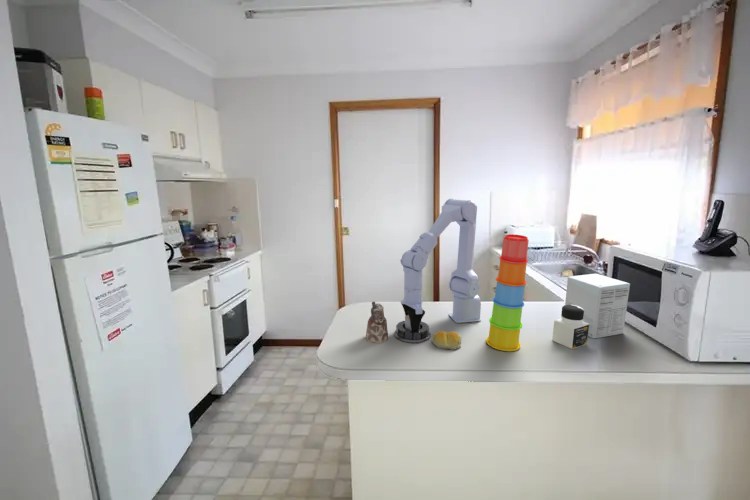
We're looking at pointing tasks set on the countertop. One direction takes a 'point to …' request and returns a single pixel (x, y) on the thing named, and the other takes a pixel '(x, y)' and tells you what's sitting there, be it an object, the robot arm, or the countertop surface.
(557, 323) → the medicine bottle
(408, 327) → the cup
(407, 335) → the toothed ring bowl
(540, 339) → the countertop surface
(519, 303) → the stacking cups
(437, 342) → the bread roll
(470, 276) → the robot arm
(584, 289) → the supplement box
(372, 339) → the figurine
